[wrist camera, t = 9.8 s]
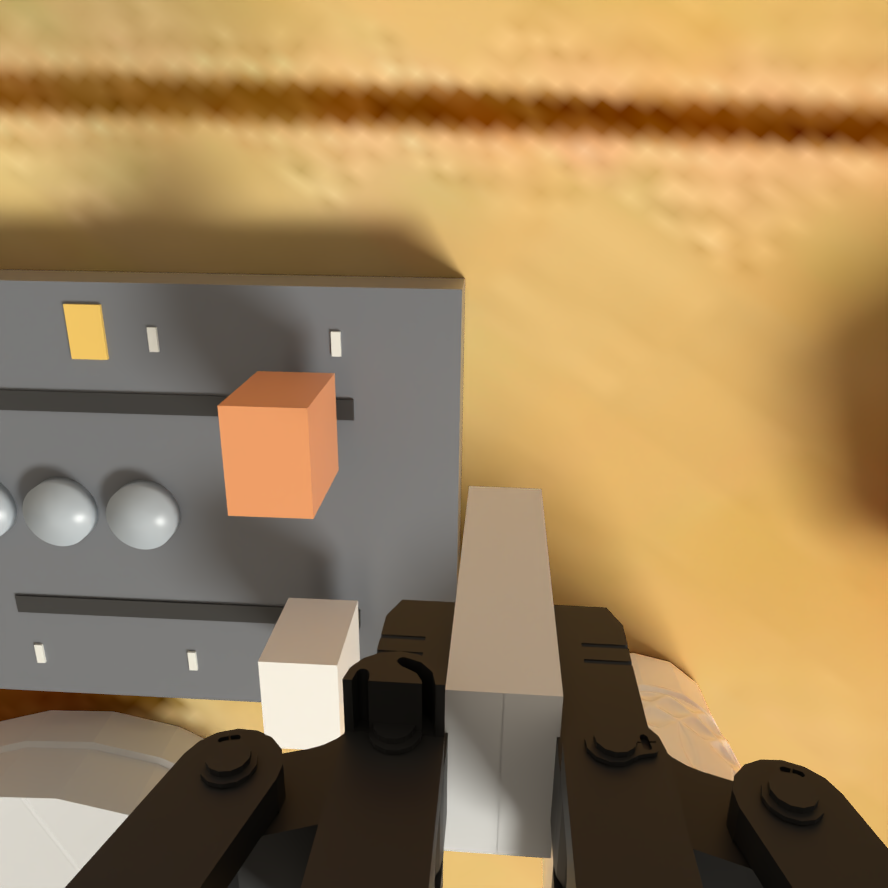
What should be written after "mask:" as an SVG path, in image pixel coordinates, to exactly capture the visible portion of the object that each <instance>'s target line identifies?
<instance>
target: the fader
mask: <svg viewBox="0 0 888 888" xmlns="http://www.w3.org/2000/svg"><path fill="white" fill-rule="evenodd" d="M218 417H219V427H220V437H221V448H222V458H223V468H224V479H225V489H226V499H227V510H228V516H248V517H275V518H301V519H314V517H315V515H316V513H317V511H318V509H319V507H320V505H321V503H322V501H323V499H324V497H325V495H326V494H327V492H328V490H329V488H330V486H331V484H332V482H333V480H334V478H335V476H336V474H337V472H338V470H339V467H338V442H337V418H336V393H335V373H310V372H272V371H257V372H256V373H255V374H254V375H252V376H251V377H250V378H249V379H248V380H247V381H246V382H244V383H243V384H242V385H241V386H240V387H239V388H237V389H236V390H235V391H234V392H233V393H232V394H230V395H229V396H228V397H227V398H226V399H225V400H224V401H222V402H221V403H220V404H219V405H218Z"/></svg>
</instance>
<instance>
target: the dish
mask: <svg viewBox="0 0 888 888" xmlns="http://www.w3.org/2000/svg"><path fill="white" fill-rule="evenodd" d="M203 739H204V738H202V737H200V736H198V735H196V734H194V733H191V732H189V731H187V730H185V729H183V728H181V727H179V726H175V725H170V724H166V723H162V722H157V721H153V720H149V719H144V718H140V717H136V716H131V715H127V714H123V713H118V712H114V711H61V710H50V711H45V712H41V713H36V714H32V715H27V716H23V717H18V718H14V719H9V720H4V721H0V888H65V887H66V886H67V884H68V883H69V882H70V881H71V880H72V879H73V878H74V877H75V875H76V874H77V873H78V872H79V871H80V870H81V869H82V868H83V866H84V865H85V864H86V863H87V862H88V861H89V860H90V859H91V857H92V856H93V855H94V854H95V853H96V852H97V851H98V850H99V848H100V847H101V846H102V845H103V844H104V843H105V842H106V841H107V840H108V838H109V837H110V836H111V835H112V834H113V833H114V832H115V831H116V829H117V828H118V827H119V826H120V825H121V824H122V823H123V822H124V820H125V819H126V818H127V817H128V816H129V815H130V814H131V813H132V811H133V810H134V809H135V808H136V807H137V806H138V805H139V804H140V802H141V801H142V800H143V799H144V798H145V797H146V796H147V795H148V793H149V792H150V791H151V790H152V789H153V788H154V787H155V786H156V784H157V783H158V782H159V781H160V780H161V779H162V778H163V777H164V776H165V774H166V773H167V772H168V771H169V770H170V769H171V768H172V767H173V765H174V764H175V763H176V762H177V761H178V760H179V759H180V758H181V756H182V755H183V754H184V753H185V752H187V751H188V750H189V749H190V748H191V747H193V746H194V745H195V744H196V743H197V742H199V741H200V740H203Z"/></svg>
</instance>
